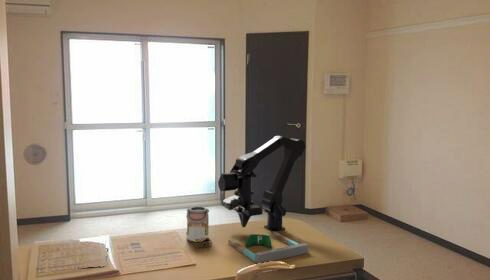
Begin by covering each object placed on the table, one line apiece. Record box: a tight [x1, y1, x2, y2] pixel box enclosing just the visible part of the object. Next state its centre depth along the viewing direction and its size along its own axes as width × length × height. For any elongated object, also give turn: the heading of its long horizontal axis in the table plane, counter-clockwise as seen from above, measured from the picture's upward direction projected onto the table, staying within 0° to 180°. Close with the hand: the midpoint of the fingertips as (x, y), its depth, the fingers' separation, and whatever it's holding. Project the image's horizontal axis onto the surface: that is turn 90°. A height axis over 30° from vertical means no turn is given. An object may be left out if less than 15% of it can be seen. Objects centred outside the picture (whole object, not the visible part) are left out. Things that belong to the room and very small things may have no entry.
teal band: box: [242, 239, 299, 262], centre depth 151 cm, size 8×21×2 cm, turn 120°
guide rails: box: [227, 231, 292, 254], centre depth 159 cm, size 11×21×2 cm, turn 120°
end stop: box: [254, 242, 309, 264], centre depth 146 cm, size 2×21×3 cm, turn 120°
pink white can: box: [186, 206, 210, 242], centre depth 161 cm, size 9×8×12 cm
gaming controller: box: [245, 232, 272, 249], centre depth 158 cm, size 9×4×6 cm
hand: (243, 227), depth 169 cm, fingers closed
